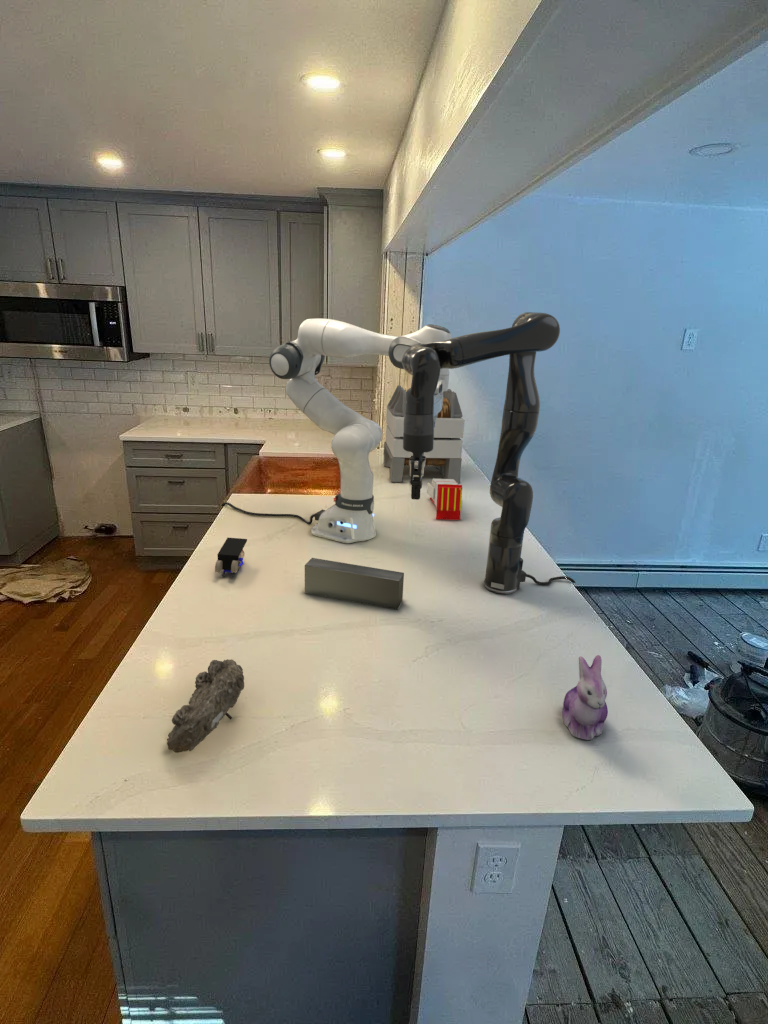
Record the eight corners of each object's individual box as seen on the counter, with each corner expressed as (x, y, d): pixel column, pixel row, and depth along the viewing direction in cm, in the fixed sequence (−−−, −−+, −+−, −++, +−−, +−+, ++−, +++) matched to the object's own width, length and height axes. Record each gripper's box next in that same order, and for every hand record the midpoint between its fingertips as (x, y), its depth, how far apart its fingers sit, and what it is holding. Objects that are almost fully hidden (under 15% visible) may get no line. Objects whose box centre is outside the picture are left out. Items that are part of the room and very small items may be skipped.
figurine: (586, 749, 104) (600, 681, 99) (547, 715, 112) (558, 650, 107) (622, 734, 108) (637, 668, 103) (582, 702, 117) (594, 639, 112)
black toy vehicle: (238, 584, 162) (249, 557, 175) (236, 562, 158) (247, 536, 172) (215, 584, 161) (227, 556, 175) (212, 561, 158) (225, 535, 171)
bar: (304, 593, 156) (304, 565, 153) (311, 585, 161) (311, 557, 158) (397, 609, 150) (399, 580, 147) (402, 600, 154) (404, 572, 151)
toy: (454, 474, 240) (466, 486, 210) (452, 505, 242) (464, 521, 213) (426, 473, 239) (434, 485, 210) (424, 504, 242) (432, 520, 212)
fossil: (192, 660, 117) (244, 628, 112) (224, 691, 120) (276, 661, 115) (142, 746, 98) (202, 712, 93) (182, 779, 101) (242, 748, 96)
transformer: (382, 463, 289) (386, 382, 275) (445, 464, 293) (451, 384, 279) (390, 482, 257) (394, 392, 243) (460, 483, 261) (468, 394, 247)
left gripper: (429, 379, 175) (425, 423, 180) (415, 386, 157) (411, 435, 161) (449, 380, 174) (445, 425, 179) (437, 388, 155) (433, 438, 160)
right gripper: (433, 438, 132) (430, 503, 138) (434, 425, 145) (432, 485, 151) (401, 436, 133) (399, 502, 138) (405, 424, 146) (403, 484, 152)
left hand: (429, 430), depth 170 cm, fingers open, 8 cm apart
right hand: (416, 493), depth 145 cm, fingers open, 8 cm apart
